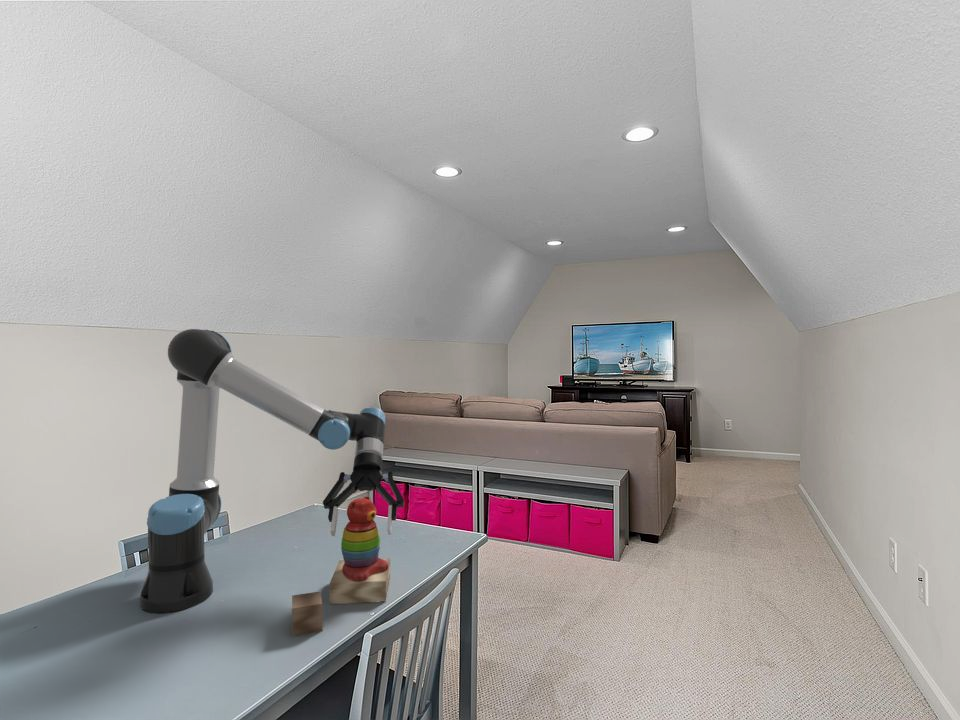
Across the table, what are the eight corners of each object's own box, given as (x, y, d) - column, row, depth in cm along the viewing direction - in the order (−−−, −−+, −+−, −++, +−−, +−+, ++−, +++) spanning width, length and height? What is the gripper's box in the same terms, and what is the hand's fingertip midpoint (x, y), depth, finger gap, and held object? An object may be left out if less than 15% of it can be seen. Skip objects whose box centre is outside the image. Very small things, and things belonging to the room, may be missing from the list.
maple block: (329, 604, 123) (329, 583, 123) (339, 579, 136) (339, 560, 136) (385, 601, 124) (385, 581, 124) (390, 577, 137) (390, 558, 137)
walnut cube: (292, 636, 110) (292, 608, 109) (292, 622, 115) (292, 595, 115) (322, 631, 112) (322, 603, 112) (320, 617, 117) (320, 591, 117)
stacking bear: (358, 583, 123) (357, 508, 122) (331, 572, 129) (330, 500, 128) (392, 568, 131) (391, 497, 131) (365, 558, 138) (364, 490, 137)
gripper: (415, 465, 147) (412, 538, 132) (323, 466, 145) (311, 540, 130) (414, 450, 141) (411, 524, 127) (319, 451, 139) (306, 527, 125)
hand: (361, 533), depth 128 cm, fingers open, 13 cm apart
